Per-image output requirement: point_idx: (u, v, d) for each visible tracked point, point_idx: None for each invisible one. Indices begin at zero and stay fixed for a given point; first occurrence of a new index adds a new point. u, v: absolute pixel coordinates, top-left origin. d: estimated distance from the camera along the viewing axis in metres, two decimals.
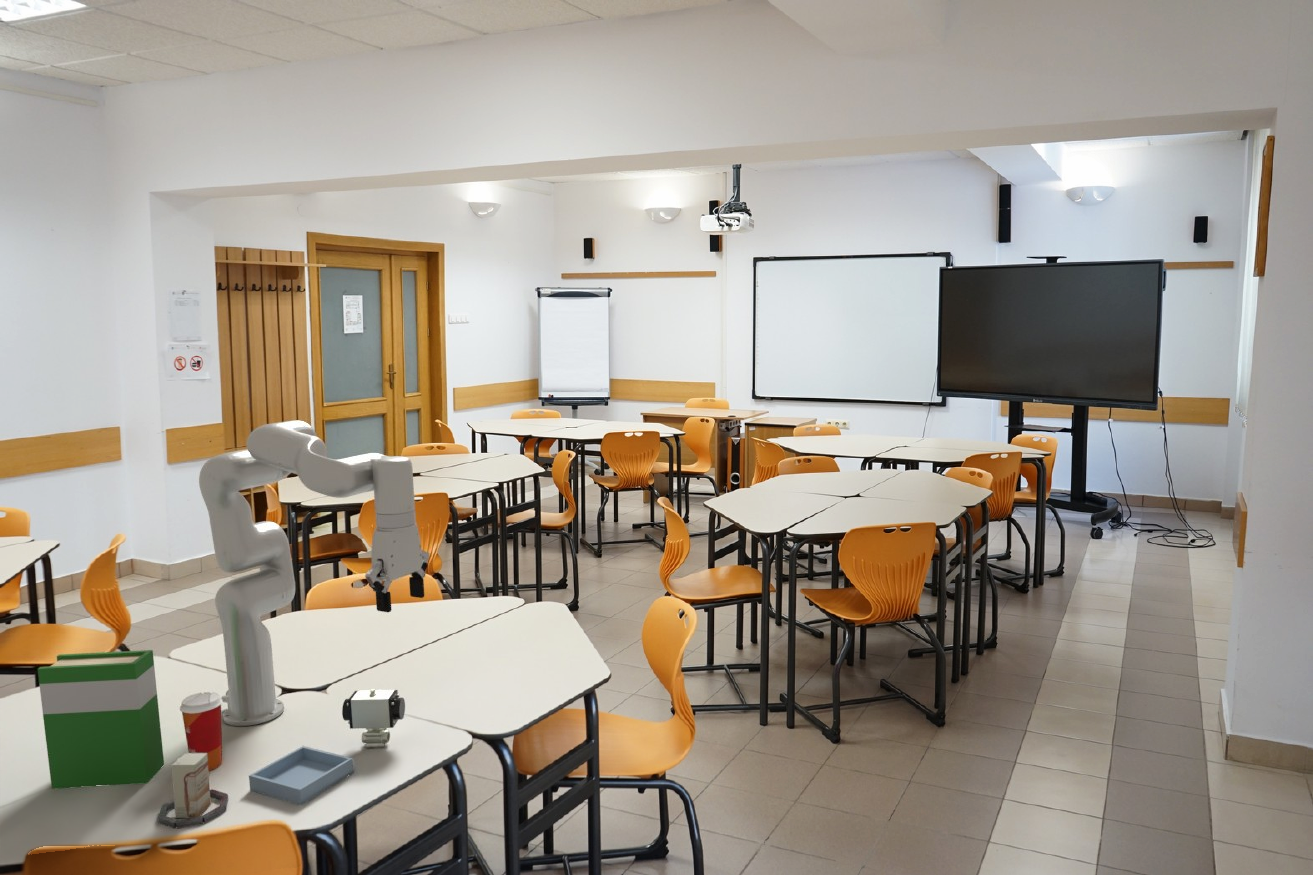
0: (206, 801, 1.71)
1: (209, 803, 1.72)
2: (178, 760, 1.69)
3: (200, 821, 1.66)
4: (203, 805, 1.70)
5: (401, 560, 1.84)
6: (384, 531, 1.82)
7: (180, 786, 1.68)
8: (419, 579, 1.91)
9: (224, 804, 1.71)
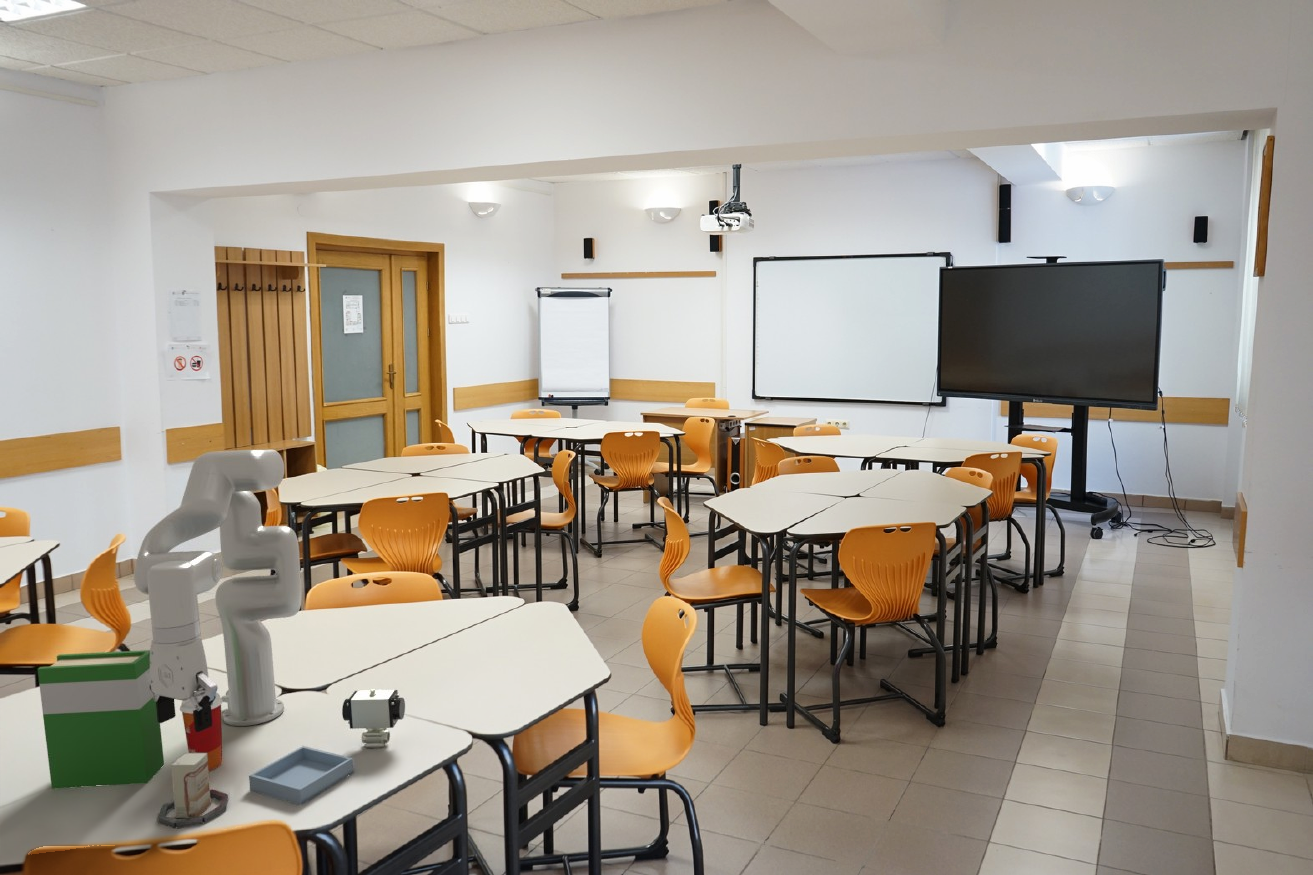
0: (206, 801, 1.71)
1: (209, 803, 1.72)
2: (178, 760, 1.69)
3: (200, 821, 1.66)
4: (203, 805, 1.70)
5: None
6: (195, 641, 1.65)
7: (180, 786, 1.68)
8: (171, 697, 1.71)
9: (224, 804, 1.71)
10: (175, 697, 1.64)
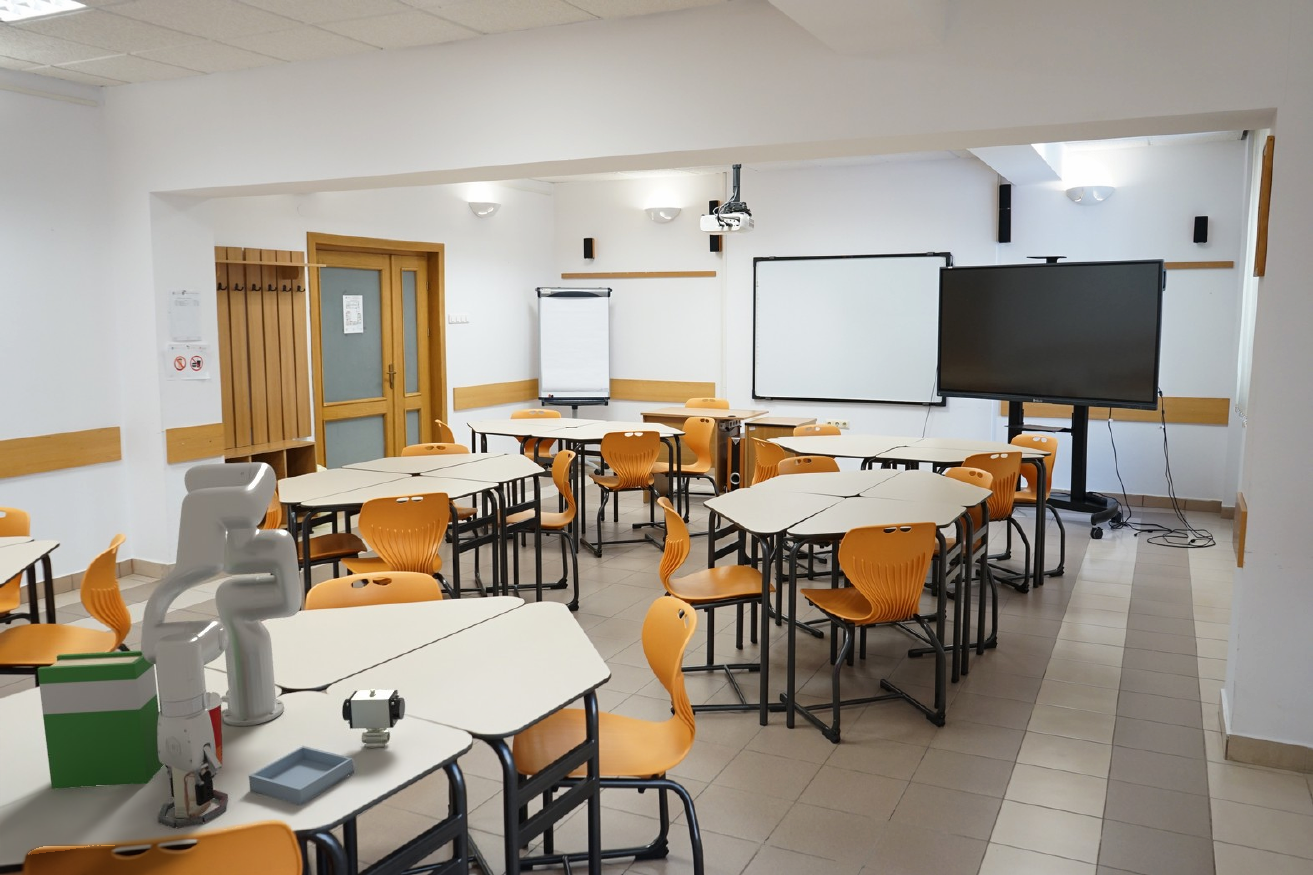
0: None
1: (209, 803, 1.72)
2: None
3: (200, 821, 1.66)
4: (203, 805, 1.70)
5: None
6: (202, 713, 1.67)
7: (180, 786, 1.68)
8: None
9: (224, 804, 1.71)
10: (183, 769, 1.66)
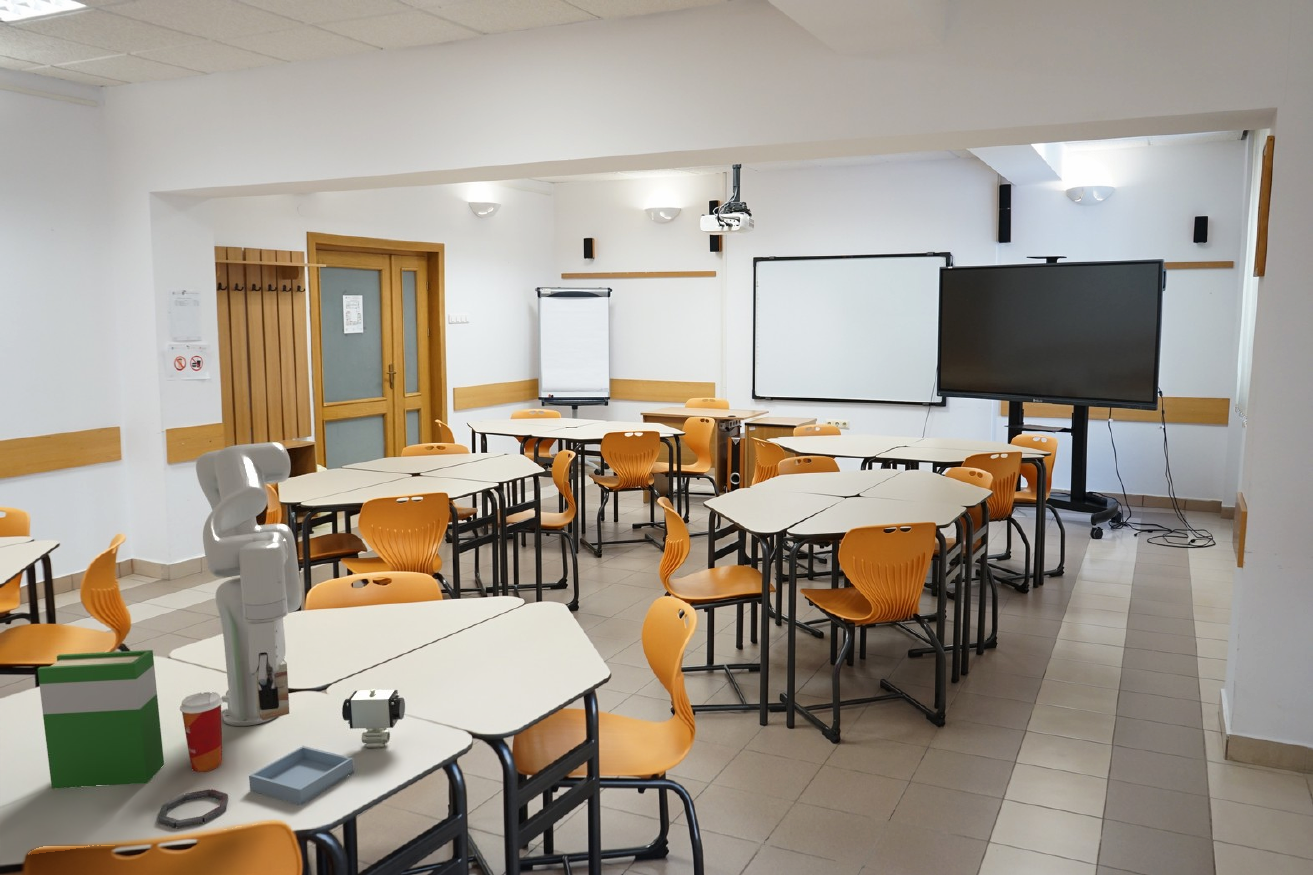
0: (279, 709, 1.75)
1: (285, 712, 1.76)
2: None
3: (200, 821, 1.66)
4: (274, 712, 1.75)
5: (280, 649, 1.74)
6: (265, 622, 1.70)
7: (256, 685, 1.75)
8: None
9: (224, 804, 1.71)
10: None
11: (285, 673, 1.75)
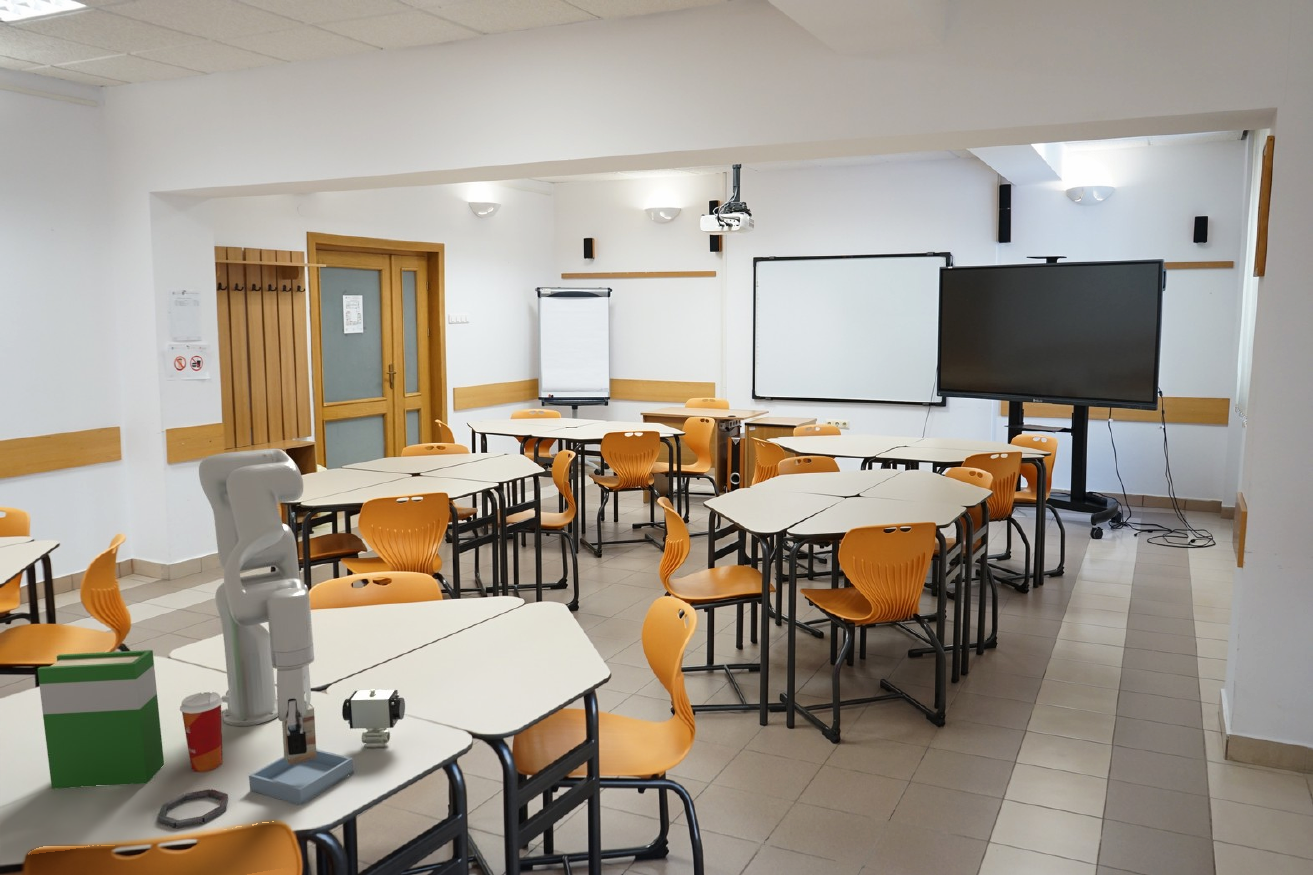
0: (307, 753, 1.79)
1: (312, 756, 1.79)
2: None
3: (200, 821, 1.66)
4: (302, 756, 1.78)
5: (307, 695, 1.77)
6: (293, 669, 1.74)
7: (284, 730, 1.78)
8: None
9: (224, 804, 1.71)
10: None
11: (312, 718, 1.79)
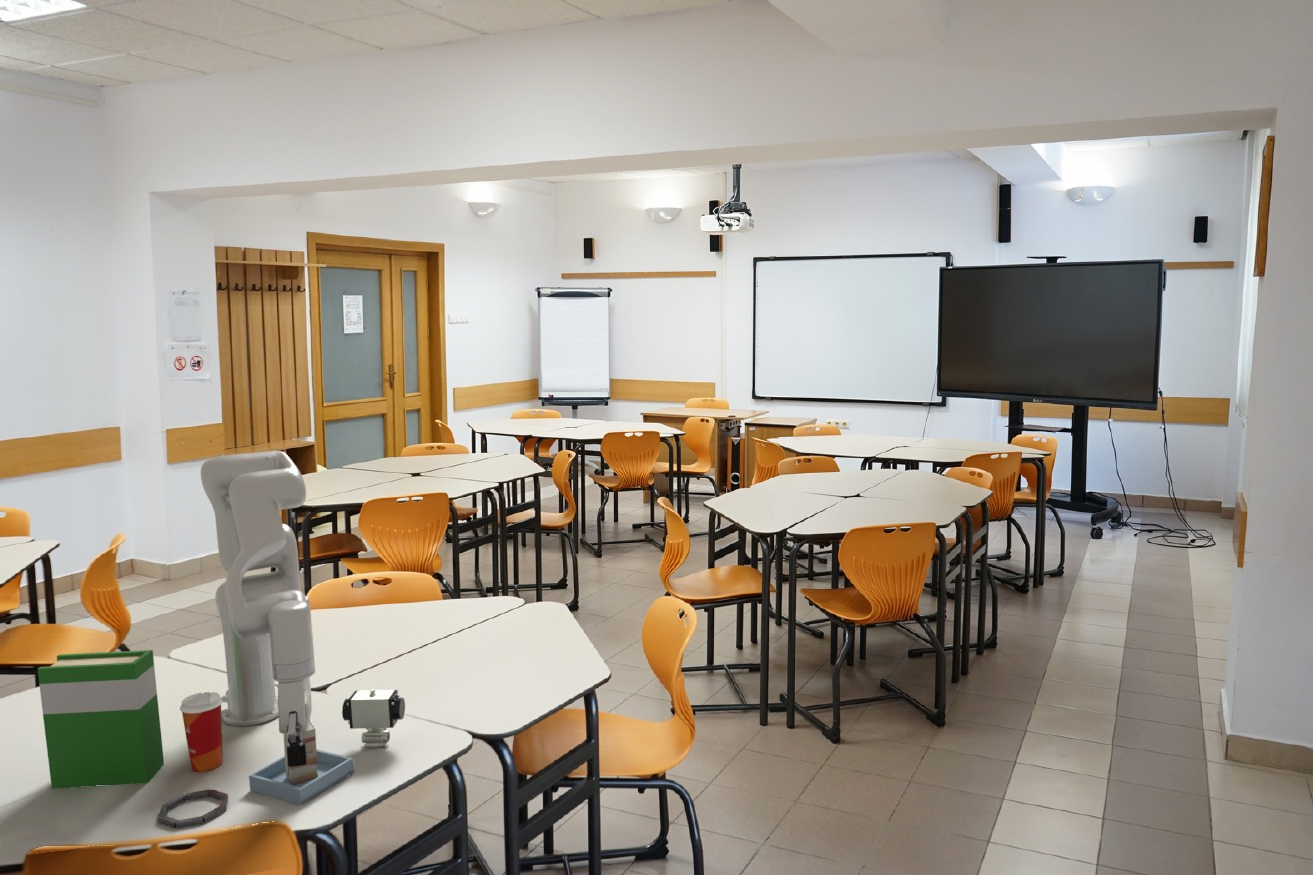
0: (308, 773, 1.80)
1: (313, 776, 1.80)
2: None
3: (200, 821, 1.66)
4: (303, 776, 1.79)
5: (308, 707, 1.78)
6: (294, 681, 1.74)
7: (286, 750, 1.79)
8: None
9: (224, 804, 1.71)
10: None
11: (314, 738, 1.80)
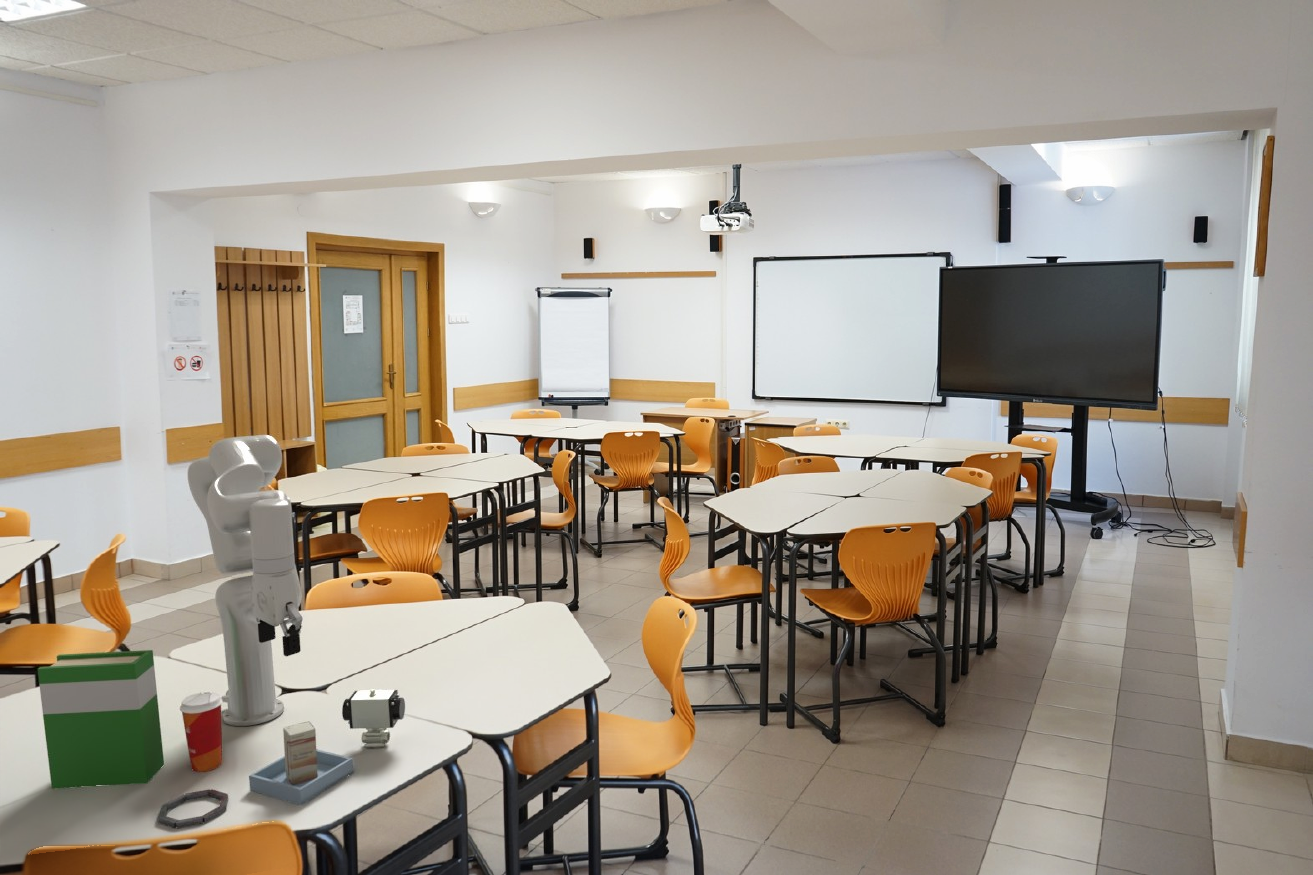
0: (308, 773, 1.80)
1: (313, 776, 1.80)
2: (292, 726, 1.81)
3: (200, 821, 1.66)
4: (303, 776, 1.79)
5: None
6: (287, 574, 1.80)
7: (286, 750, 1.79)
8: None
9: (224, 804, 1.71)
10: (268, 622, 1.80)
11: (314, 738, 1.80)
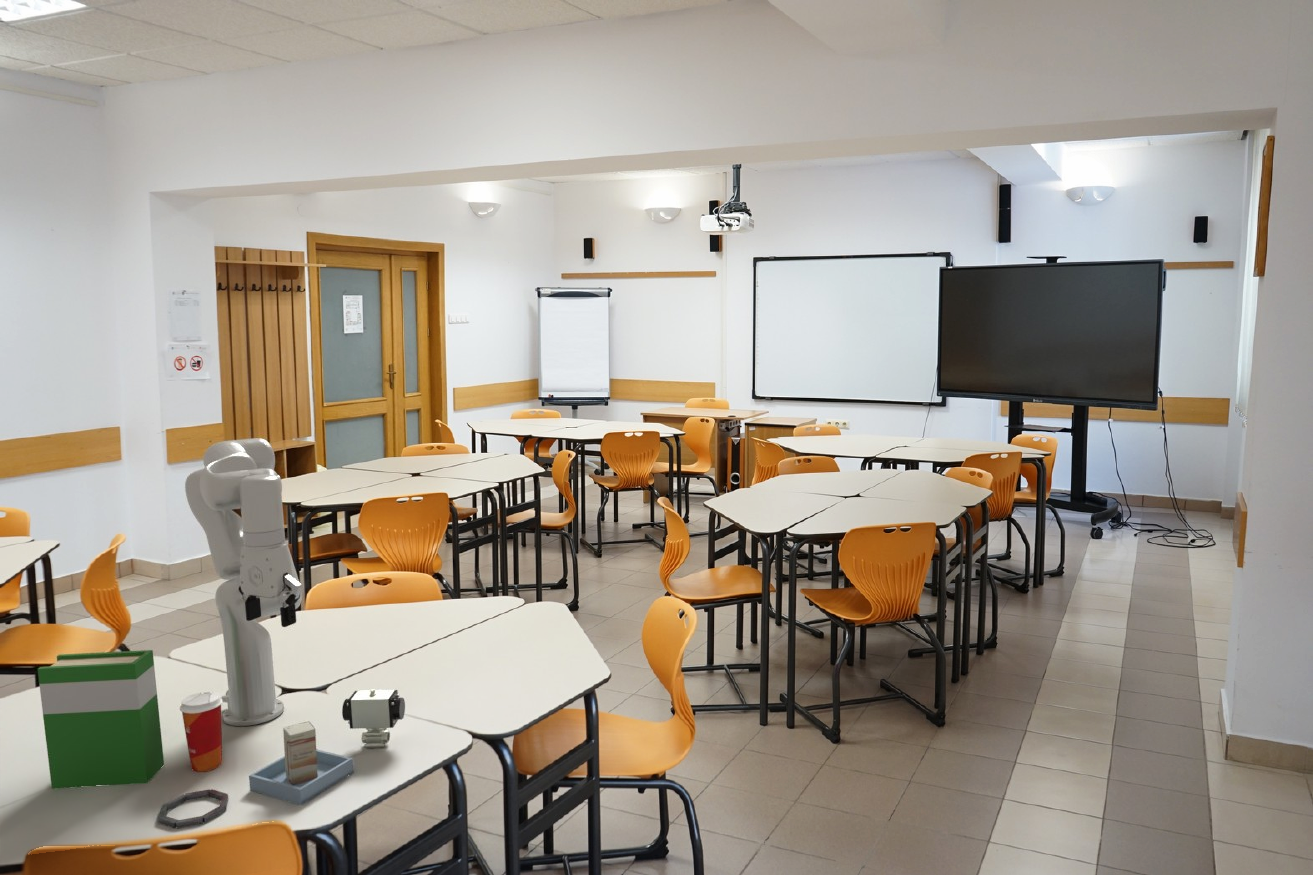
0: (308, 773, 1.80)
1: (313, 776, 1.80)
2: (292, 726, 1.81)
3: (200, 821, 1.66)
4: (303, 776, 1.79)
5: None
6: (282, 545, 1.84)
7: (286, 750, 1.79)
8: (257, 598, 1.90)
9: (224, 804, 1.71)
10: (264, 595, 1.83)
11: (314, 738, 1.80)
